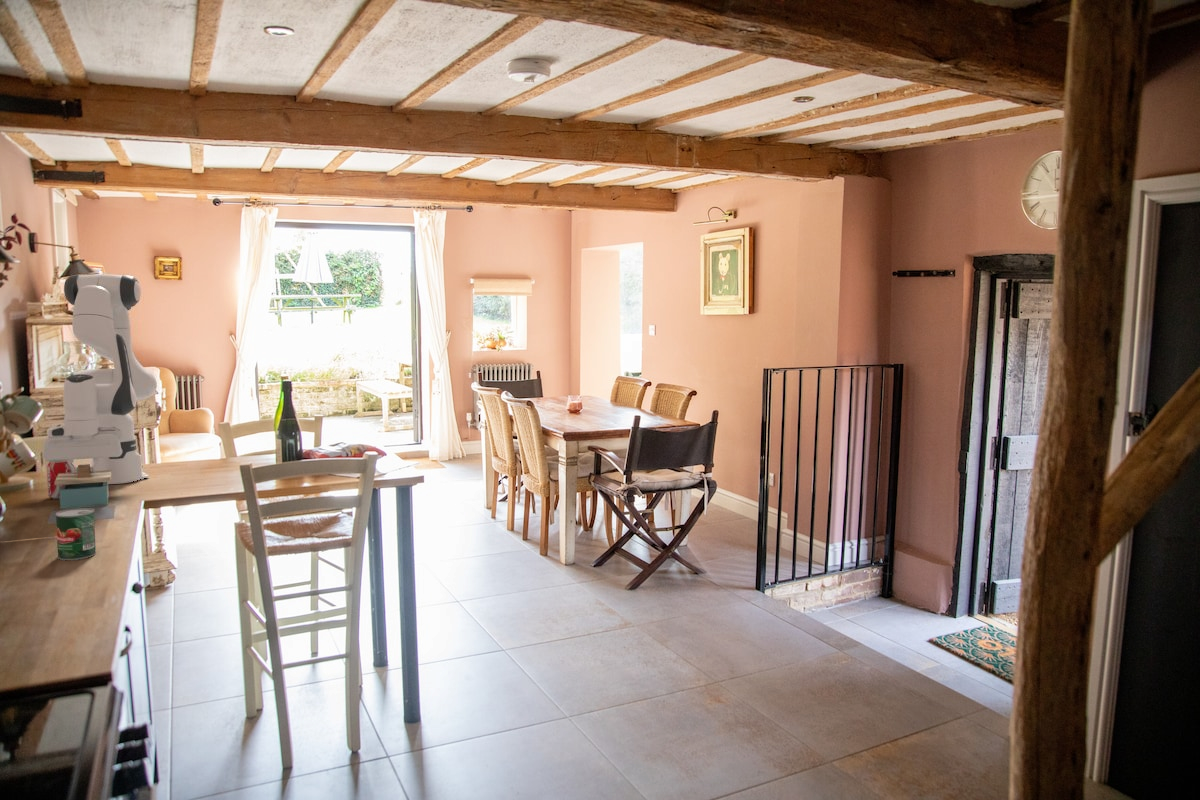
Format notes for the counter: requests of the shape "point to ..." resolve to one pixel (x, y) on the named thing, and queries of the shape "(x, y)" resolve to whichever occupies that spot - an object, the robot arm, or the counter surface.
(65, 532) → the canned tomato
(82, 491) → the teal open box
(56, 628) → the counter surface
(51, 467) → the soda can
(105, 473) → the lid
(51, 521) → the mat
